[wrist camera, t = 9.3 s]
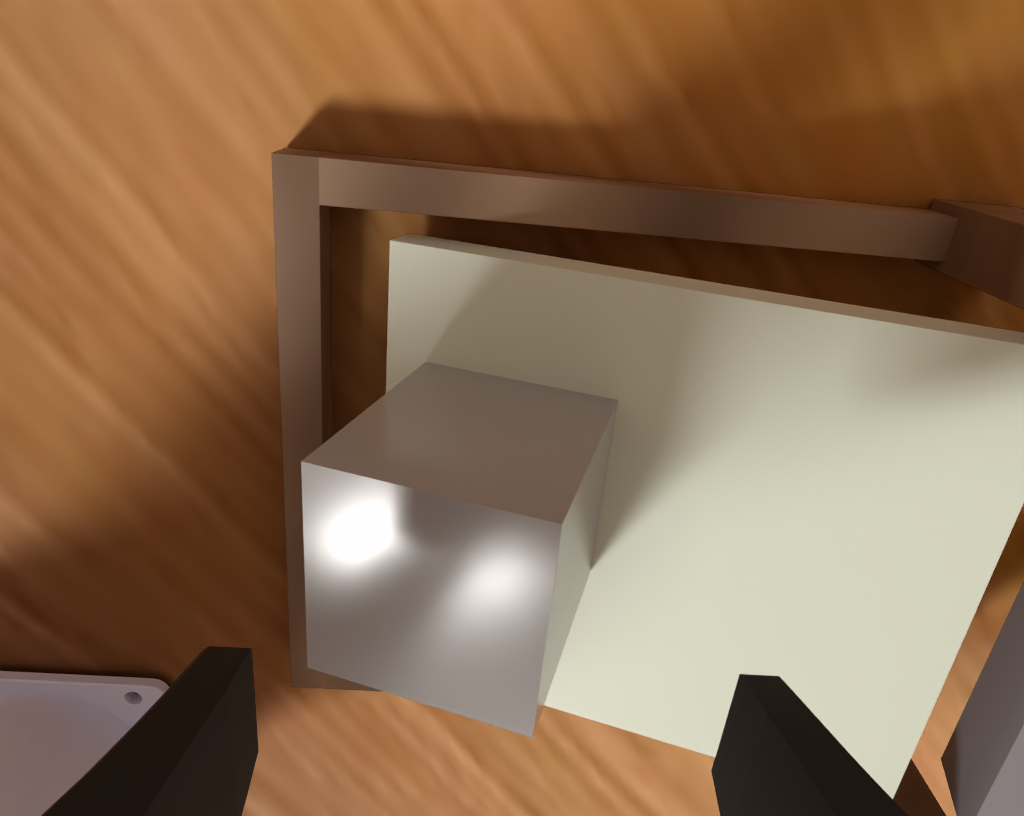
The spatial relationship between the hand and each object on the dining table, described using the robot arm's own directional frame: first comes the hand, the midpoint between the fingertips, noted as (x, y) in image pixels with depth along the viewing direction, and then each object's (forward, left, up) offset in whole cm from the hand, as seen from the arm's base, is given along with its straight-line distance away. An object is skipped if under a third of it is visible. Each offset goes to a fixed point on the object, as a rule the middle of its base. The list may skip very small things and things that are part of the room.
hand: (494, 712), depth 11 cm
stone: (0, 0, -8) cm, 8 cm away
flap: (+7, -1, -7) cm, 10 cm away
